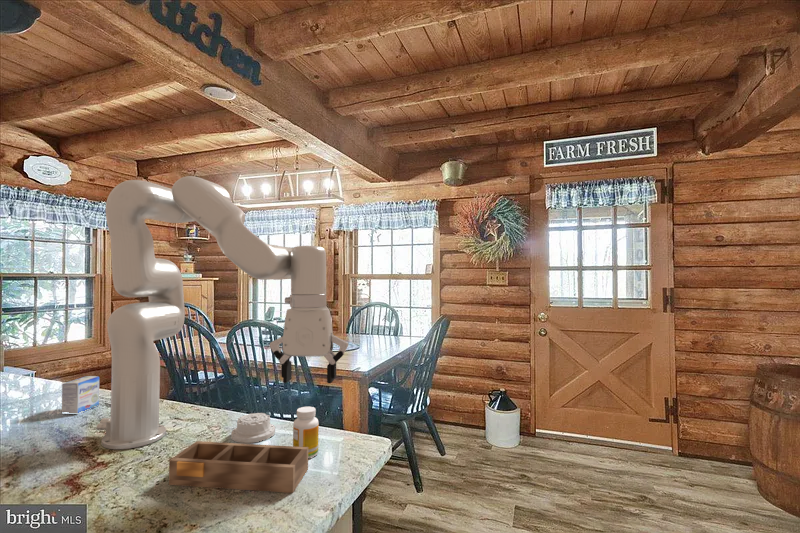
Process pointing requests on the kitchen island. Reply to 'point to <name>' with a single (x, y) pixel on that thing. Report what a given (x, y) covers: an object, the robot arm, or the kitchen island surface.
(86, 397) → the medicine box
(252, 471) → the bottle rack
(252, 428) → the mechanical component
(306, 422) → the supplement bottle
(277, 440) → the kitchen island surface
